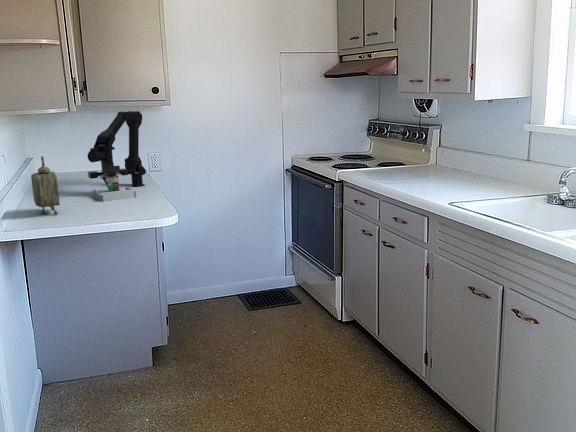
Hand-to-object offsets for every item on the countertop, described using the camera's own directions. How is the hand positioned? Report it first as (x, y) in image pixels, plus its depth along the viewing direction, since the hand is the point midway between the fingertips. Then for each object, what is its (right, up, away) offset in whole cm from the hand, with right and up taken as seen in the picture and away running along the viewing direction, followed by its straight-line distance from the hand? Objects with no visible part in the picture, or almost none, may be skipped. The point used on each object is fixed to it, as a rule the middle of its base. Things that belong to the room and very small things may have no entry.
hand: (109, 190), depth 291 cm
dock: (+5, -4, -7) cm, 10 cm away
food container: (+4, -3, -6) cm, 8 cm away
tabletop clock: (-15, -12, -39) cm, 44 cm away
